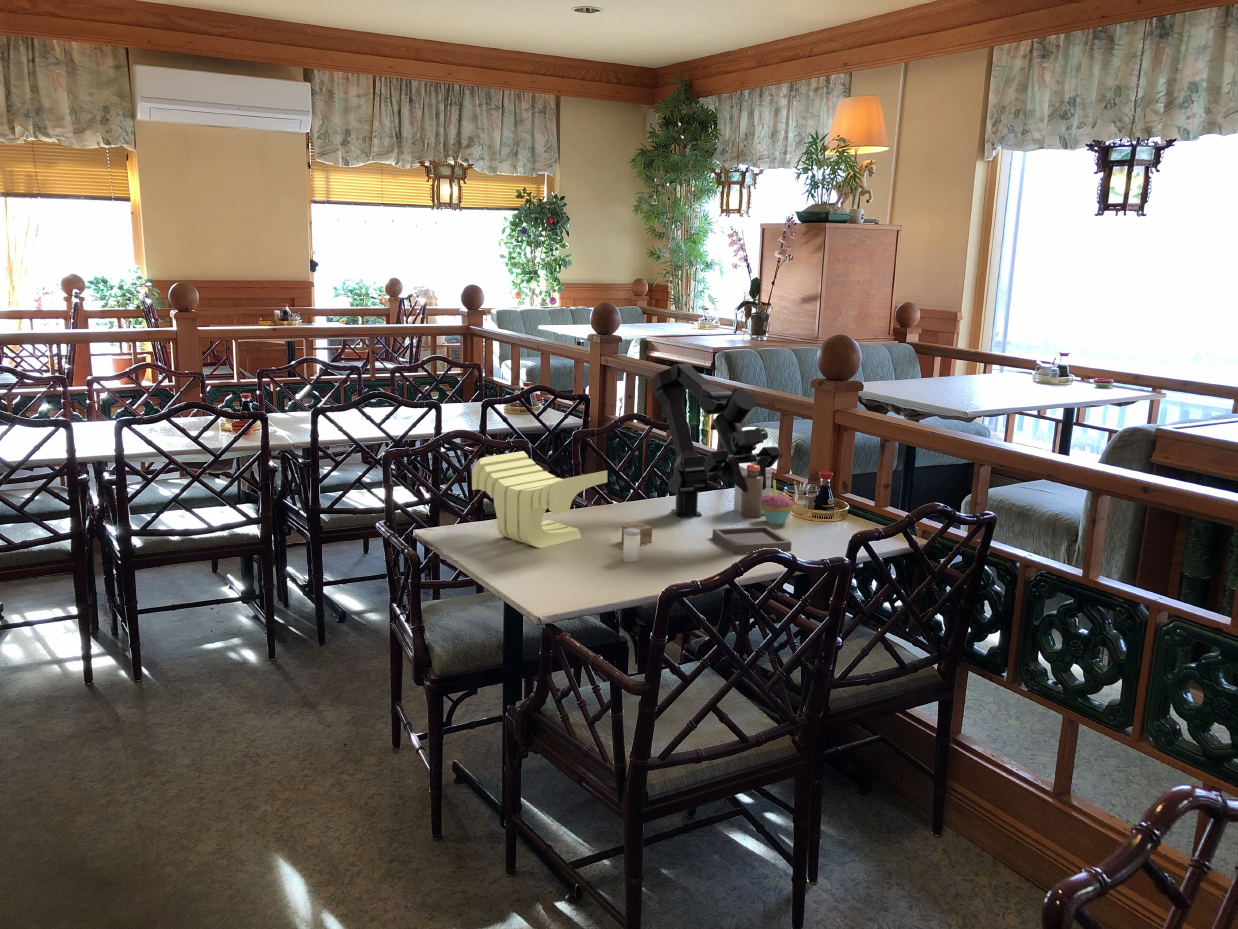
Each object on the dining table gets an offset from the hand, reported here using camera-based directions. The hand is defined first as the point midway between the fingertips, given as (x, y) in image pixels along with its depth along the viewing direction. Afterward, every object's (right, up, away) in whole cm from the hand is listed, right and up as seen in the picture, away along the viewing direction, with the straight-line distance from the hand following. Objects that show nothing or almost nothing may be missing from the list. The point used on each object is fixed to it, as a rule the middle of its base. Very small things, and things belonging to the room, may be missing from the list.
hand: (755, 489), depth 224 cm
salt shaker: (-29, -15, -10) cm, 34 cm away
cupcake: (+8, -9, +24) cm, 27 cm away
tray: (-1, -13, +4) cm, 13 cm away
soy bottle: (-1, -6, +3) cm, 7 cm away
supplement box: (+4, -7, +34) cm, 35 cm away
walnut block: (-27, -13, +4) cm, 30 cm away
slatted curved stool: (-51, -12, +6) cm, 52 cm away
